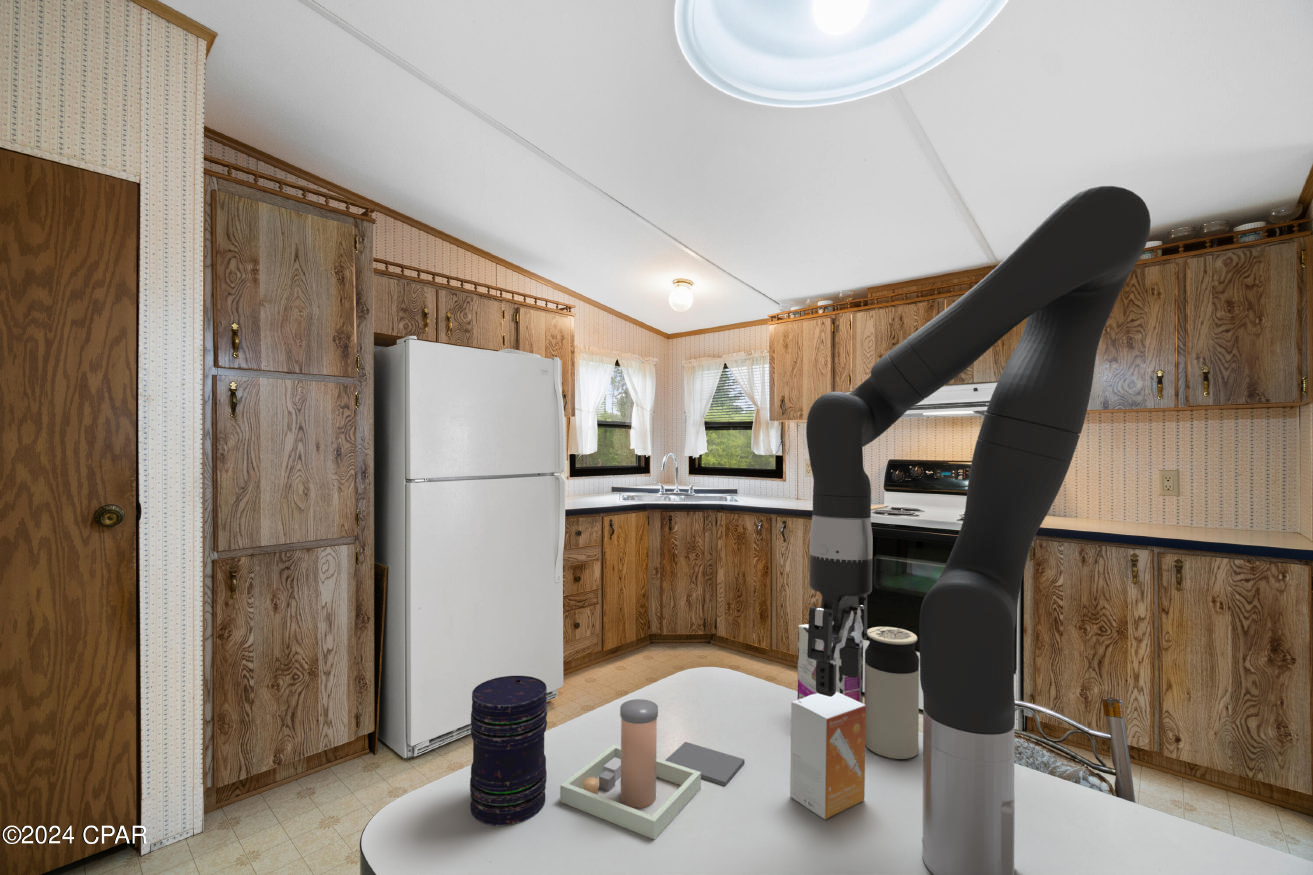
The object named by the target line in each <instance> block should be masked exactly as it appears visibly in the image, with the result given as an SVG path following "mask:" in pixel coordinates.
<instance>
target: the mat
mask: <svg viewBox="0 0 1313 875" xmlns="http://www.w3.org/2000/svg"><path fill="white" fill-rule="evenodd" d="M665 761H668V762H671V763H674V764H677V765H680V766H683V767H686V768H689V769H693V770H696V771H699V772H701V780H706V781H708V782H711V783H715V784H716V785H717V784H718V785H720V786H723V787H727V785H728V784H729V783H730V781H731V780H732V779H733V777H735V775H736V774H737V773H738V772H739V771H740V769H741V768H742V767H743V766H744V764H745V758H741V757H738V756H734V755H731V754H729V753H724V752H722V751H719V750H715V749H710V748H708V747H704V746H701V745H699V744H698V745H697V744H694V743H692V742H691V743H690V742H687V741H685V742H683V743H682V744H681V745H680V746H679V747H678V748H676V750H675V751H673V752H671V754H670V755H669V756H668V757H667V758H666V759H665Z"/></svg>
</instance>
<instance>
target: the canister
mask: <svg viewBox="0 0 1313 875" xmlns="http://www.w3.org/2000/svg"><path fill="white" fill-rule="evenodd" d="M619 707H620V711H619V712H620V713H619V715H620V716H619V717H620V721H621V722H620V723H621V724H620V725H621V726H620V727H621V728H620V746H621V777H620V797H619V798H620V800H621V804H623V805H626V806H628V807H631V808H634V809H643V808H647V807H649V806H651V805H653V804H655V801H656V799H657V777H656V758H657V748H658V747H657V746H658V745H657V741H658V740H657V737H658V736H657V735H658V734H657V732H658V726H657V725H658V722H657V721H658V720H657V719H658V717H659V706H658V704H657V703H656V702H654V701H652V700H648V699H643V698H642V699H641V698H639V699H638V698H637V699H631V700H627V701H624V702H623V703H621V705H620V706H619Z"/></svg>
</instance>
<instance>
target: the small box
mask: <svg viewBox="0 0 1313 875" xmlns="http://www.w3.org/2000/svg"><path fill="white" fill-rule="evenodd" d="M790 704H791V706H790V707H791V708H790V710H791V712H790V713H791V715H790V716H791V718H790V771H789V772H790V775H789V776H790V777H789V778H790V782H789V783H790V784H789V786H790V787H789V796H790V798H792V799H793V800H794V801H796V802H798V803H799V804H801V805H802V806H804V807H805V808H807V809H808V810H810V811H811V812H813V813H814V814H816V815H817V816H819V817H821V818H822V819H823V820H827V819H829V818H831V817H833V816H835V815H837V814H838V813H840V812H843V811H845V810H847V809H849V808H851V807H853V806H855V805H857V804H859V803H862V802H864V801H865V797H866V796H865V795H866V794H865V792H866V791H865V781H866V745H865V730H866V705H865V703H860V702H858V701H856V700H854V699H852V698H849V697H847V696H845V695H843V694H841V693H838V692H836V693H835V695H833V696H832V697H829V696H825V695H822V694H819V693H817V694H812V695H809V696H807V697H804V698H802V699H798V700H797V699H796V700H792V701H791V702H790Z"/></svg>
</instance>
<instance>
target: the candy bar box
mask: <svg viewBox="0 0 1313 875" xmlns="http://www.w3.org/2000/svg"><path fill="white" fill-rule="evenodd" d="M797 626H798V630H797V632H798V633H797V634H798V635H797V639H798V641H797V699H796V700H798V699H802V698H804V697H807V696H809V695H812V694H817V691H816V661H814V660H813V659H809V658H808V657H807V650H808V626H809V623H805V624H798V625H797ZM816 642H817V640H816ZM816 642H815V646H816ZM859 648H860V675H859V676H858V677H857V678H852V677H848V676H844V675H843V674H842V673H841V648H840V649H839V653H838V657H837V662H836V692H838V693H841V694H843V695H845V696H847V697H849V698H852V699H854V700H856V701H858V702H860V703H863V698H864V696H863V694H864V693H863V692H864V691H863V689H864V688H863V686H864V685H863V684H864V644H863V645H862V647H859ZM823 651H824V646H823ZM863 704H864V703H863Z"/></svg>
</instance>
